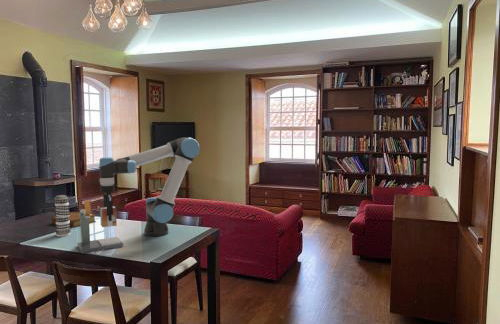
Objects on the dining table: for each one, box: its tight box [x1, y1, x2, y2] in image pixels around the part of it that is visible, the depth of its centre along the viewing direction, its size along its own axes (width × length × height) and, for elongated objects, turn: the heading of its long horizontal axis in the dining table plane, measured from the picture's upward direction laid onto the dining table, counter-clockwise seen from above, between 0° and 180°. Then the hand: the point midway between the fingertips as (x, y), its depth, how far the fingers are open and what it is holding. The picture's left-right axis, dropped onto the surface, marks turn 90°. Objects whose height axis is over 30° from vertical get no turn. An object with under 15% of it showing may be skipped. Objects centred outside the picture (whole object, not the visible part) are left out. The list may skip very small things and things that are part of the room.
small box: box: [99, 206, 118, 228], centre depth 223 cm, size 8×6×10 cm
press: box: [76, 213, 124, 254], centre depth 222 cm, size 22×15×19 cm
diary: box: [51, 211, 97, 229], centre depth 278 cm, size 23×19×6 cm
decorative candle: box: [53, 194, 72, 237], centre depth 247 cm, size 9×9×25 cm
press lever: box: [79, 199, 92, 218], centre depth 215 cm, size 18×4×10 cm, turn 31°
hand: (108, 225), depth 223 cm, fingers closed on small box, 6 cm apart
